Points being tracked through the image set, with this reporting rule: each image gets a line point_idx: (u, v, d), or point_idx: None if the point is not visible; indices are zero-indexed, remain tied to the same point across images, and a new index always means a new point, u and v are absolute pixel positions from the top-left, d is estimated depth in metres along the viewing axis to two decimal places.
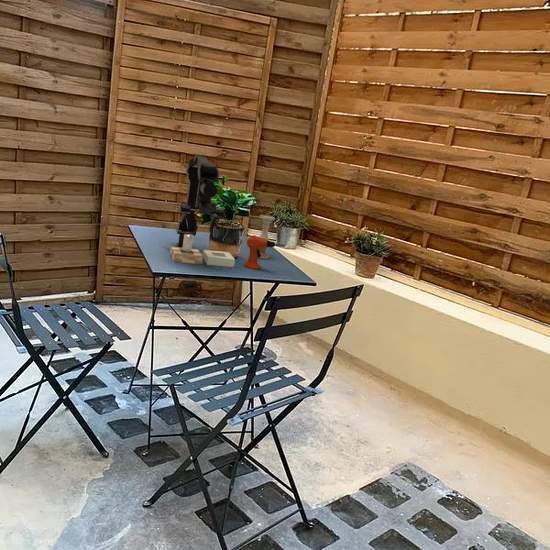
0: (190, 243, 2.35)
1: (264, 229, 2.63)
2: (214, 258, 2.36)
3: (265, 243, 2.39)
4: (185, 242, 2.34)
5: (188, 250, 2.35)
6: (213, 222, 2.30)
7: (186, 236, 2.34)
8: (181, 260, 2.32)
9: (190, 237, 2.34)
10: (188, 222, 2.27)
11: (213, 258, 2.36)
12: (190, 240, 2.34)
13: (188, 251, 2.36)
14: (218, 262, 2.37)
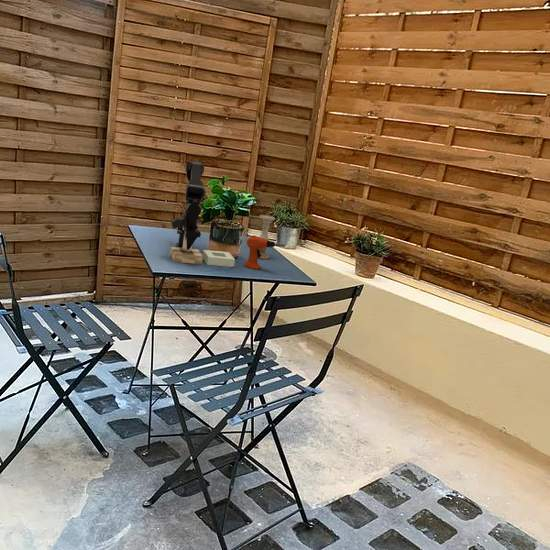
0: None
1: (264, 229, 2.63)
2: (214, 258, 2.36)
3: (265, 243, 2.39)
4: (185, 242, 2.34)
5: (188, 250, 2.35)
6: (186, 240, 2.33)
7: None
8: (181, 260, 2.32)
9: None
10: None
11: (213, 258, 2.36)
12: None
13: (188, 251, 2.36)
14: (218, 262, 2.37)
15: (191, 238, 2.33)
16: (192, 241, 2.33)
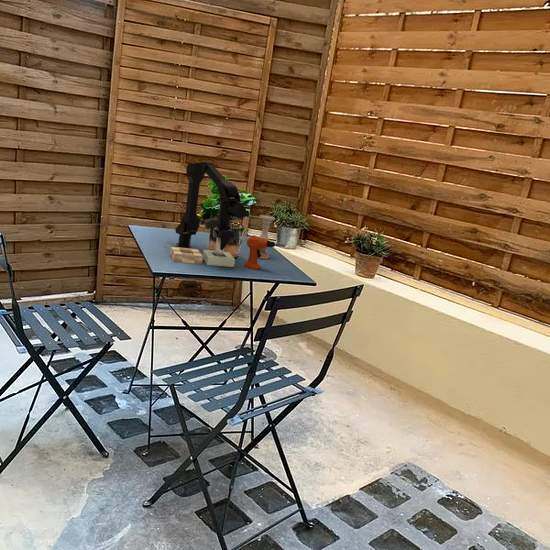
0: None
1: (264, 229, 2.63)
2: (214, 258, 2.36)
3: (265, 243, 2.39)
4: (218, 245, 2.40)
5: (221, 253, 2.40)
6: (220, 240, 2.36)
7: (219, 239, 2.39)
8: (181, 260, 2.32)
9: None
10: None
11: (213, 258, 2.36)
12: None
13: (220, 254, 2.41)
14: (218, 262, 2.37)
15: (225, 239, 2.36)
16: (226, 242, 2.37)
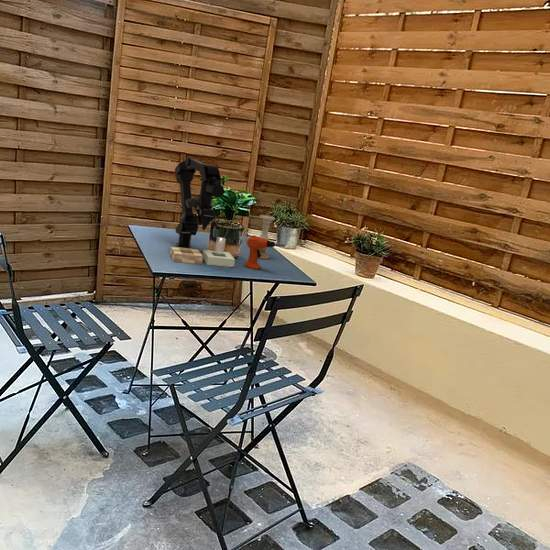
0: (222, 246, 2.40)
1: (264, 229, 2.63)
2: (214, 258, 2.36)
3: (265, 243, 2.39)
4: (218, 245, 2.40)
5: (221, 253, 2.40)
6: (202, 220, 2.39)
7: (219, 239, 2.39)
8: (181, 260, 2.32)
9: (223, 240, 2.39)
10: (198, 218, 2.49)
11: (213, 258, 2.36)
12: (222, 243, 2.40)
13: (220, 254, 2.41)
14: (218, 262, 2.37)
15: (207, 218, 2.39)
16: (208, 221, 2.39)
